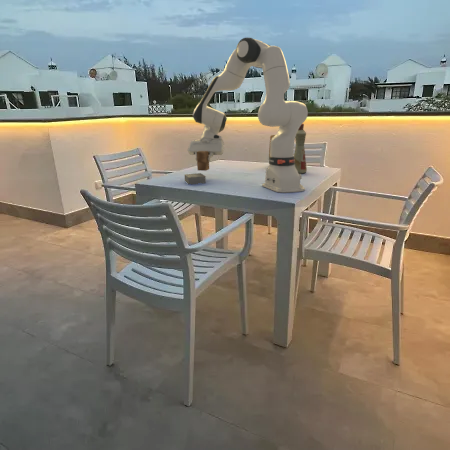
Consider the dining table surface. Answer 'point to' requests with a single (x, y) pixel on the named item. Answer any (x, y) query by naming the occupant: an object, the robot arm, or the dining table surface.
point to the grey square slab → (195, 178)
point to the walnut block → (202, 160)
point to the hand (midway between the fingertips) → (202, 160)
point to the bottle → (300, 151)
